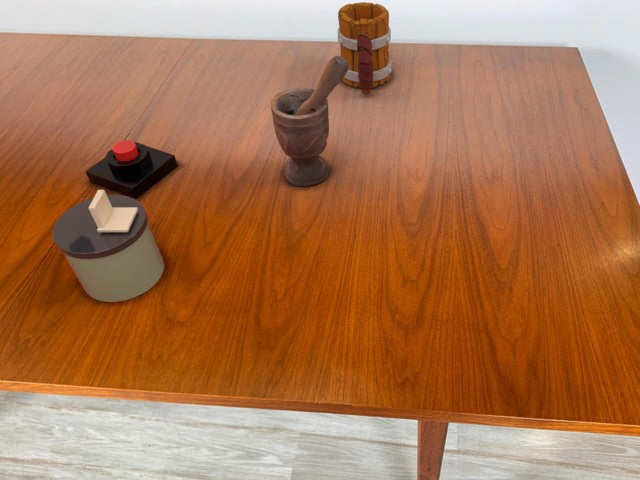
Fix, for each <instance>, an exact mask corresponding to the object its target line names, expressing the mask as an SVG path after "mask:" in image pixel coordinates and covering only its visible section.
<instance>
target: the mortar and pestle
mask: <svg viewBox="0 0 640 480" xmlns="http://www.w3.org/2000/svg"><path fill="white" fill-rule="evenodd" d="M347 71H348V63H347V61H346V60H345V59H344V58H342V57H341V55H335V56H334V57H332V58H331V59H330V60H329V61H328V63H327V64H326V66H325V68H324V70H323V72H322V74H321V75H320V78H319V80H318V82H317V84H316V86H315V88H308V87H307V88H306V87H296V88H295V87H294V88H290V89H286V90H283V91H278V92H277V93H276V94H275V95H274V96H273V97H272V99H271V101H270V111H271V115H272V121H273V123H272V124H273V127H274V133H275V136H276V139H277V142H278V145H279V146H280V149H281V150H282V152H283V153H284V154H285V155H286V156H288V157H290V158H289V159H288V160H287V161H286V163H285V166H284V172H283V173H284V177H285V179H286V181H287V182H288V183H290V184H291V185H294V186H298V187H310V186H315V185H317V184H320V183H321V182H323V181H324V180H325V179H327V178H328V176H329V174H330V169H329V165H328V163H327V161H326V160H325V158H323V157H322V156H321V154H322V153H323V152H324V151H325V149H326V147H327V144H328V142H327V141H328V138H329V135H330V118H329V100H328V98H329V96H330V95H331V94H332V92H333V91H334V90H335V88H337V87H338V85H339V84H340V83H341V82H342V79H343V78H344V76H345V75H346V73H347Z"/></svg>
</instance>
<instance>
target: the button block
mask: <svg viewBox="0 0 640 480" xmlns="http://www.w3.org/2000/svg"><path fill="white" fill-rule="evenodd" d="M128 140H129V139H128ZM129 141H131V140H129ZM133 142H134V143H135V144H136V147H137V149H138V152H139V155H138V156H137V157H136V158H135V159H132V160H129V161H118V160H117V159H116V157H115V155H114V152H113V150H112V148H111V149H109V150H108V151H107V152H106V155H105V157H104V158H102V159H101V160H99V161H98V162H97V163H95V164H93V165H92V166H90V167H89V168H88V169H86V170H85V174H86V176H87V178H88V180H89V182H90V183H91V184H94V185H97V186H99V187H103V188H105V189H108V190H110V191H113V192H115V193H118V194H120V195H122V196H127V197H130V198H133V199H135V200H137V199H138V198H139V197H141V196H142V195H144V194H145V193H146V192H147V191H149V190H150V189H151V188H152V187H153V186H155V185H156V184H157V183H158V182H160V181H161V180H162V179H164V178H165V177H166V176H167V175H169V174H170V173H171V172H172V171H174V170H175V169H176V168H177V167H178V166H179V165H178V162H177V159H176V155H175V154H172V153H170V152H166V151H163V150H160V149H157V148H154V147H151V146H148V145H146V144H144V143H140V142H138V141H133Z"/></svg>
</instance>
